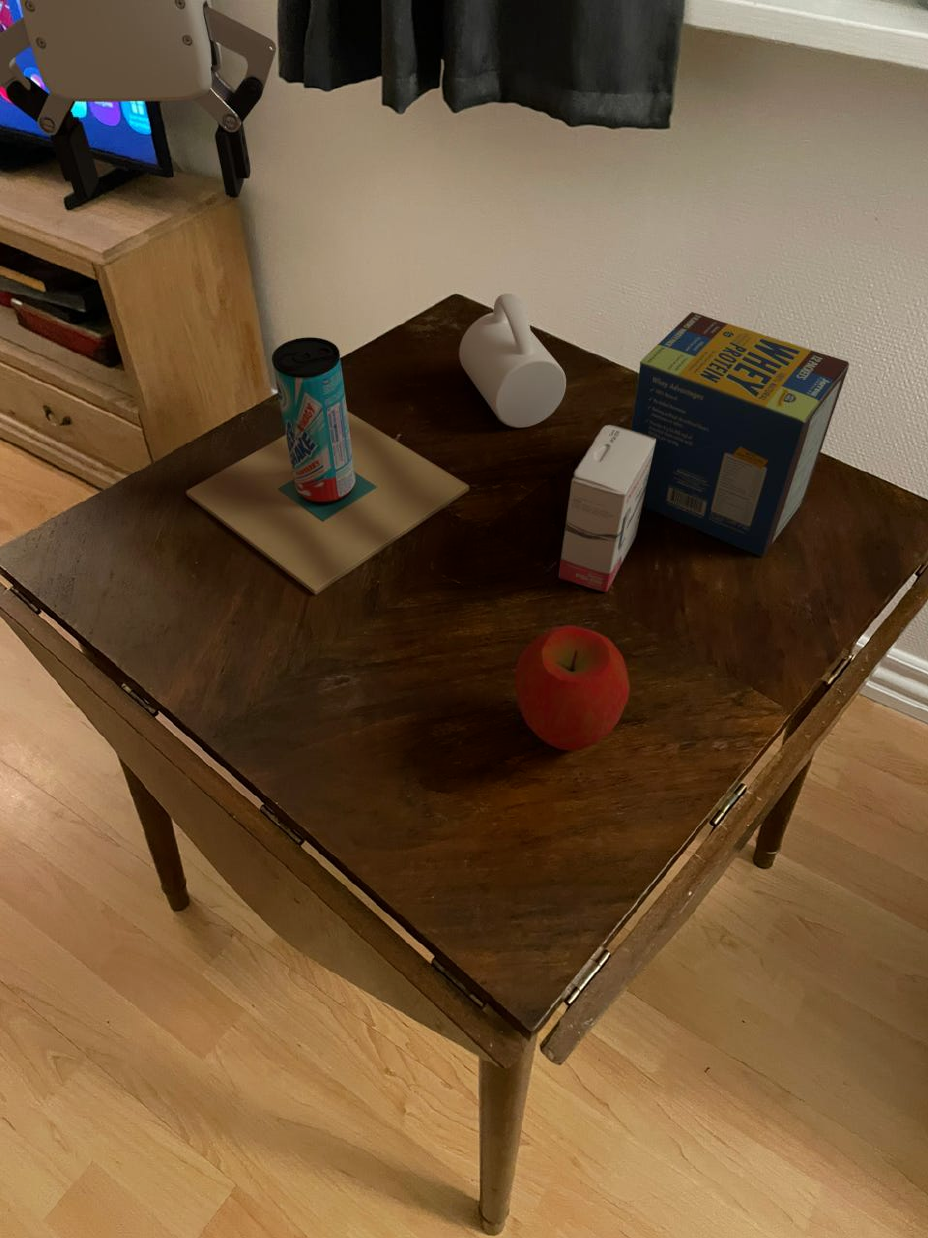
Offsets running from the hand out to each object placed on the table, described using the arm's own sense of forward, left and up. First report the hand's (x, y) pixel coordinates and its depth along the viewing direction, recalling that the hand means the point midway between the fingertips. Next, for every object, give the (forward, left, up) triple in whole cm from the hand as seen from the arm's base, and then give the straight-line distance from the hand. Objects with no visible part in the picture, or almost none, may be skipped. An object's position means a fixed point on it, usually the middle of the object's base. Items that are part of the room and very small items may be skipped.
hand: (162, 189), depth 61 cm
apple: (+27, -20, -34) cm, 48 cm away
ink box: (+32, 0, -34) cm, 47 cm away
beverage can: (+6, +10, -34) cm, 36 cm away
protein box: (+44, +8, -34) cm, 56 cm away
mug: (+25, +25, -34) cm, 49 cm away
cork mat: (+6, +10, -34) cm, 36 cm away
